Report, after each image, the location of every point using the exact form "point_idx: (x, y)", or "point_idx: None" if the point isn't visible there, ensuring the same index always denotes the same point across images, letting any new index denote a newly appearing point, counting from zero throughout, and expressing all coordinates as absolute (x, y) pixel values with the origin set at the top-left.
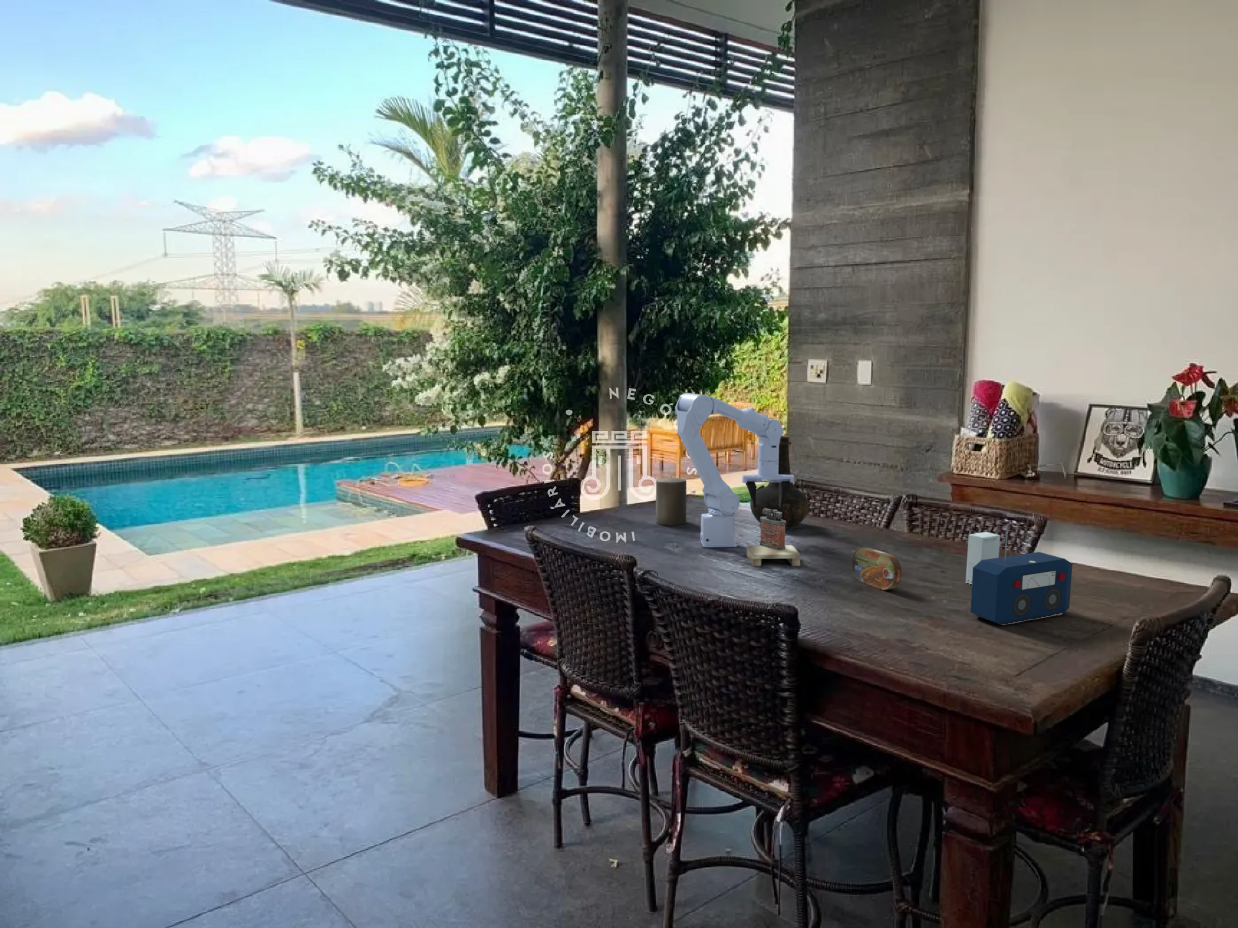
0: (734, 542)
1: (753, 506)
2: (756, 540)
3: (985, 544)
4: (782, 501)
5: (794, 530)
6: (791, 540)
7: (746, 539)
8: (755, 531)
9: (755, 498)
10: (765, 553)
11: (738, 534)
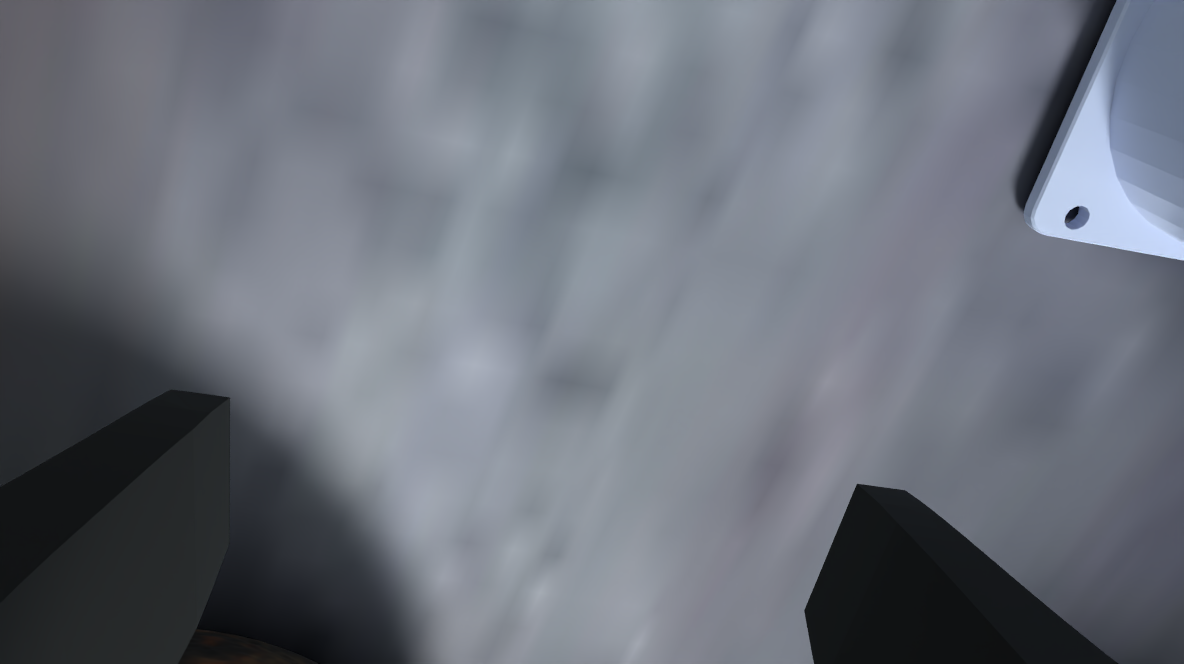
0: (1131, 27)
1: (927, 516)
2: (708, 193)
3: None
4: (87, 469)
5: None
6: (223, 85)
7: (807, 271)
8: (540, 589)
9: (1020, 648)
10: None
11: (780, 506)
